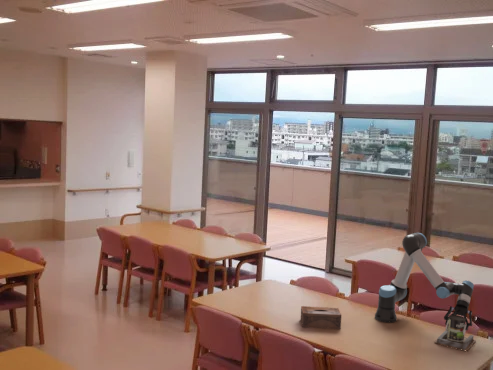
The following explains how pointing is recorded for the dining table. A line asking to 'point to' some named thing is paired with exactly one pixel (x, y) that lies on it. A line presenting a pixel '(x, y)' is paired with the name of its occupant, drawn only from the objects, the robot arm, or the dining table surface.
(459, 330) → the coffee can
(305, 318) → the tissue box cover
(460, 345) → the rail dock
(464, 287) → the robot arm
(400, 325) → the dining table surface
